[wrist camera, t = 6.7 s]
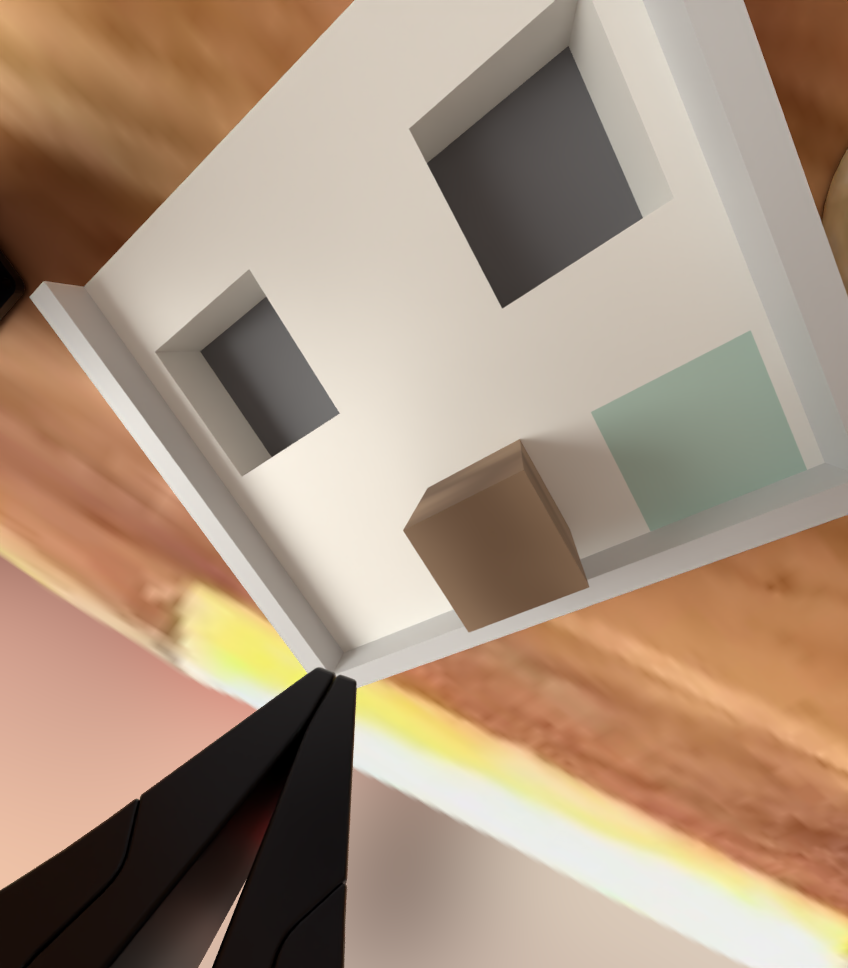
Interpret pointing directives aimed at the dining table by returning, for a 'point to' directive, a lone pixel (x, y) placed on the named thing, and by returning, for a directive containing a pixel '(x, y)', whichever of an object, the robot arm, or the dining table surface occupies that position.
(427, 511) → the walnut block
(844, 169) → the hand bell
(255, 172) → the box
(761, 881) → the dining table surface
